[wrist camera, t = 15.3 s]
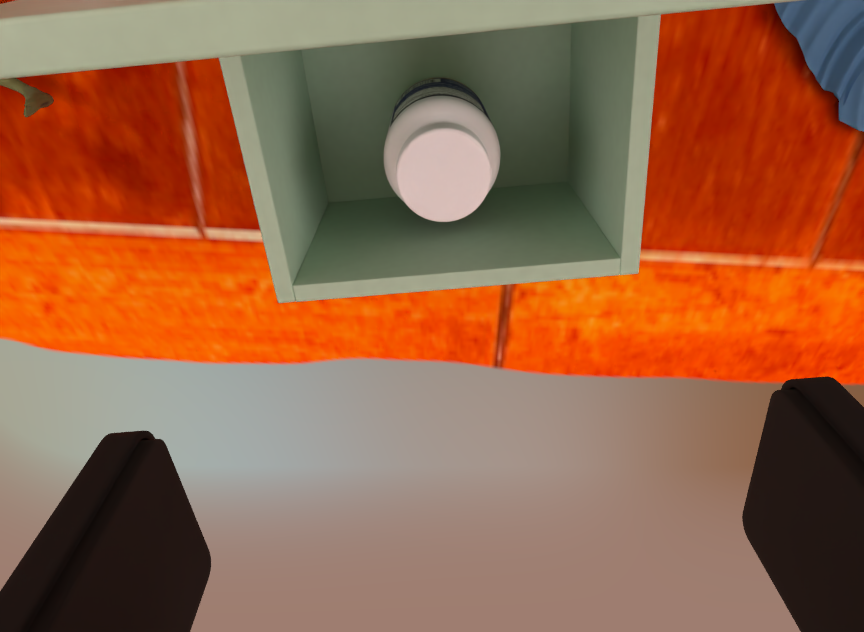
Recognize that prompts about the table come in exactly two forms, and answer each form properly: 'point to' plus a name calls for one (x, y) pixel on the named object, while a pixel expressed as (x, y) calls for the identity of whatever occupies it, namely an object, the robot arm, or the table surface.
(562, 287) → the table surface
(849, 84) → the blue flat rumpled sheet
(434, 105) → the pill bottle
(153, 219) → the table surface
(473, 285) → the chest
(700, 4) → the lid
